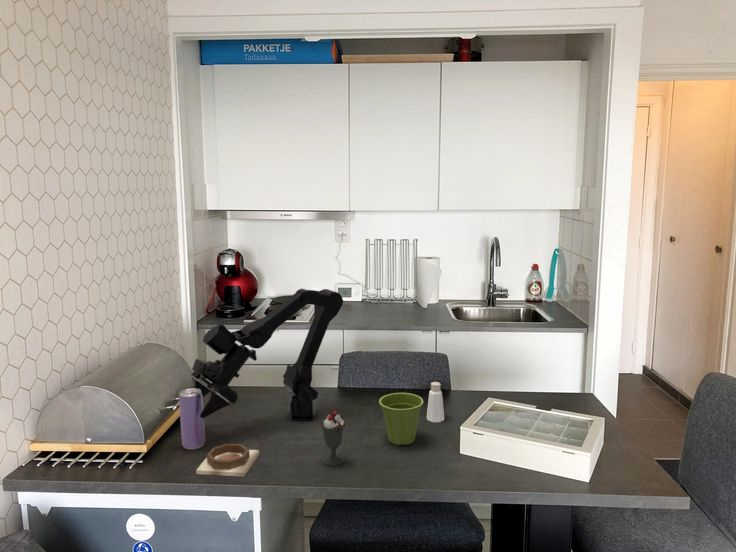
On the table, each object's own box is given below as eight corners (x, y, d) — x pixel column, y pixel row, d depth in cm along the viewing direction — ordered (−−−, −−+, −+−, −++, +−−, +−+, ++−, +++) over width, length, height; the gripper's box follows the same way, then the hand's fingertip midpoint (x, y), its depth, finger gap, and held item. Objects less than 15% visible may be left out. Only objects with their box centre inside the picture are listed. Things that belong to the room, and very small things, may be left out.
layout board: (259, 453, 157) (258, 442, 156) (244, 476, 145) (243, 465, 144) (214, 451, 158) (214, 440, 158) (196, 474, 146) (195, 462, 146)
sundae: (327, 470, 148) (325, 412, 145) (316, 458, 154) (315, 402, 151) (351, 463, 151) (350, 406, 148) (340, 453, 157) (339, 398, 154)
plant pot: (387, 428, 171) (386, 390, 169) (427, 434, 167) (428, 395, 165) (373, 446, 160) (373, 405, 158) (416, 452, 156) (416, 411, 154)
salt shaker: (423, 421, 176) (424, 385, 174) (429, 414, 181) (429, 379, 179) (441, 423, 174) (442, 387, 172) (446, 416, 179) (447, 381, 177)
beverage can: (198, 451, 158) (195, 396, 156) (178, 449, 160) (174, 395, 157) (209, 441, 164) (206, 388, 162) (189, 439, 165) (185, 387, 163)
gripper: (196, 340, 168) (159, 386, 164) (225, 356, 154) (185, 407, 149) (224, 362, 175) (189, 407, 170) (254, 379, 160) (217, 429, 155)
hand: (194, 412), depth 161 cm, fingers open, 9 cm apart
